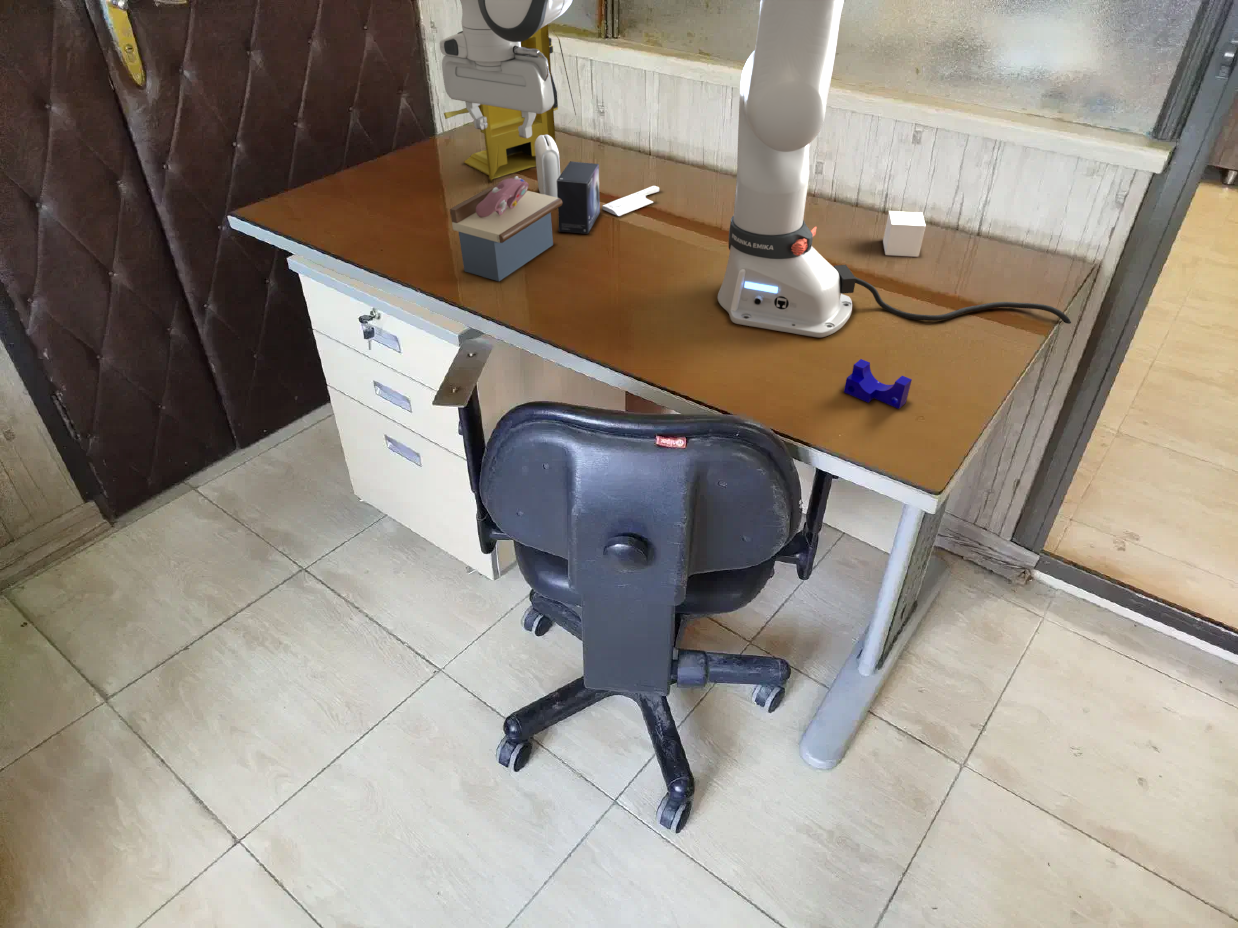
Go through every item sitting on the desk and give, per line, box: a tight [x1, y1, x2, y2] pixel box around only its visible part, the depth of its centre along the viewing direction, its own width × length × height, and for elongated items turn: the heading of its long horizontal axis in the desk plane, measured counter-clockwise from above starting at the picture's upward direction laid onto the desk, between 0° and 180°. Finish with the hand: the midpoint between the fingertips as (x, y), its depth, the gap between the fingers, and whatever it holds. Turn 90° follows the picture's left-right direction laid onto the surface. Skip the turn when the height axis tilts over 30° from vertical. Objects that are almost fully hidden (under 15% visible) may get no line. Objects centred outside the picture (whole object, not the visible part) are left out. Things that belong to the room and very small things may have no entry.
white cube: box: [882, 210, 927, 258], centre depth 154 cm, size 6×6×6 cm
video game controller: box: [476, 175, 530, 217], centre depth 146 cm, size 10×5×7 cm, turn 148°
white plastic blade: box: [601, 185, 660, 217], centre depth 173 cm, size 5×15×1 cm, turn 132°
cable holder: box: [843, 358, 913, 410], centre depth 118 cm, size 8×4×4 cm, turn 48°
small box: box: [557, 160, 601, 235], centre depth 163 cm, size 11×6×10 cm, turn 168°
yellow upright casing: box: [443, 23, 577, 183], centre depth 183 cm, size 31×14×30 cm, turn 130°
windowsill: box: [449, 174, 563, 282], centre depth 151 cm, size 11×18×12 cm, turn 149°
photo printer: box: [535, 135, 561, 197], centre depth 173 cm, size 10×4×12 cm, turn 13°
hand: (503, 132), depth 140 cm, fingers open, 8 cm apart
